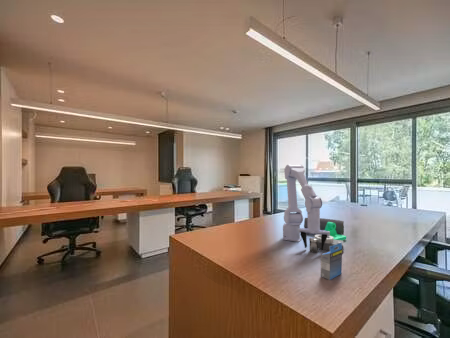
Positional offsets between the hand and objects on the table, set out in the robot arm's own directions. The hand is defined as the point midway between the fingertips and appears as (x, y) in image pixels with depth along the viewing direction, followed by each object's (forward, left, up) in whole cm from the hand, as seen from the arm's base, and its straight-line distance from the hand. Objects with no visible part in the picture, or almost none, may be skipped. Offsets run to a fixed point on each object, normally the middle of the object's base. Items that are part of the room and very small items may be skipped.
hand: (313, 248), depth 112 cm
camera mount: (+9, +25, -2) cm, 26 cm away
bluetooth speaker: (+2, +36, -2) cm, 37 cm away
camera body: (+6, +9, -1) cm, 11 cm away
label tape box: (+9, -25, -2) cm, 27 cm away
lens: (0, 0, -1) cm, 1 cm away
